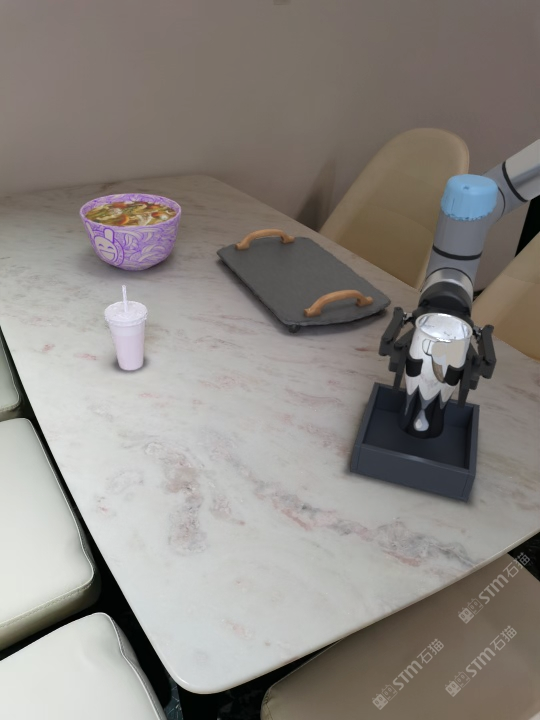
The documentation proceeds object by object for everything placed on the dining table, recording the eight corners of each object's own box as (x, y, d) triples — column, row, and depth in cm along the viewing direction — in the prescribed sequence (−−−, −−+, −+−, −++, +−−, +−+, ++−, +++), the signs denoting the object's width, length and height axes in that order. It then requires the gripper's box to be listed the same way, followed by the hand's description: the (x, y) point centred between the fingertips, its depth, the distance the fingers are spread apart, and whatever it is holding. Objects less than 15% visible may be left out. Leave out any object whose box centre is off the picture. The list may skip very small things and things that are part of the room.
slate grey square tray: (471, 430, 85) (479, 404, 82) (466, 502, 73) (475, 475, 70) (370, 406, 88) (374, 381, 85) (349, 472, 76) (354, 445, 74)
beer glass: (401, 402, 82) (421, 306, 74) (451, 418, 79) (479, 321, 71) (386, 431, 77) (406, 331, 68) (440, 449, 74) (468, 348, 66)
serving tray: (209, 257, 130) (209, 230, 126) (302, 243, 139) (304, 217, 135) (291, 345, 101) (293, 313, 98) (401, 321, 110) (407, 291, 107)
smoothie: (113, 378, 91) (103, 297, 83) (107, 356, 96) (97, 277, 88) (155, 371, 93) (149, 291, 85) (147, 350, 98) (141, 272, 90)
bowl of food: (88, 287, 115) (81, 230, 109) (84, 247, 131) (77, 195, 125) (191, 279, 120) (189, 224, 114) (175, 241, 136) (173, 191, 130)
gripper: (508, 340, 87) (509, 436, 69) (374, 313, 92) (342, 397, 73) (523, 294, 83) (528, 384, 65) (382, 268, 88) (349, 346, 69)
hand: (429, 391), depth 69 cm, fingers closed on beer glass, 7 cm apart
